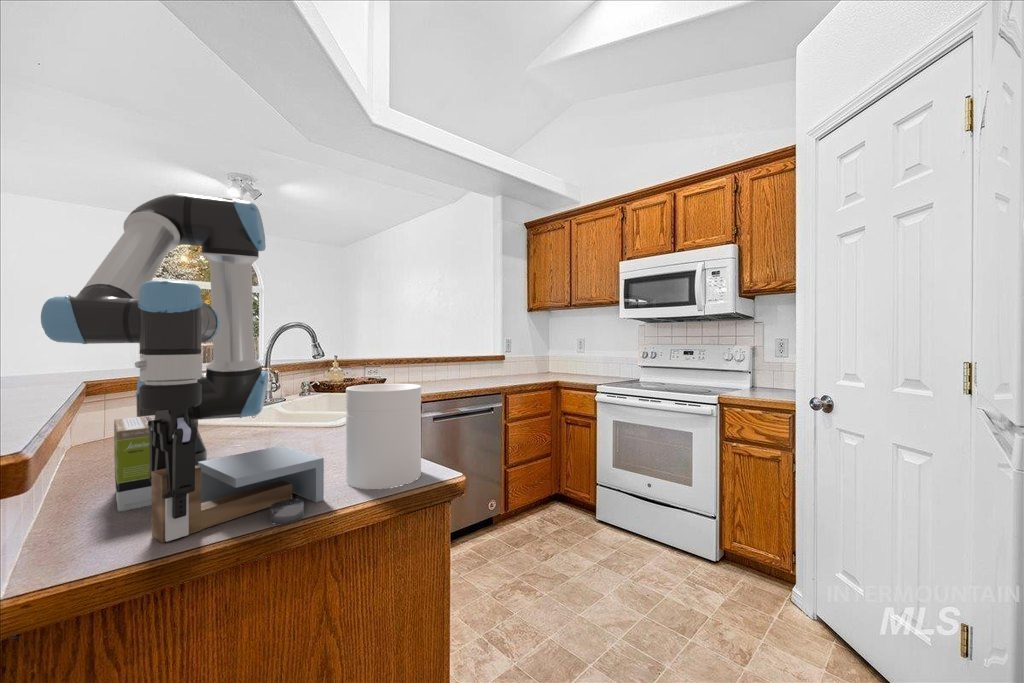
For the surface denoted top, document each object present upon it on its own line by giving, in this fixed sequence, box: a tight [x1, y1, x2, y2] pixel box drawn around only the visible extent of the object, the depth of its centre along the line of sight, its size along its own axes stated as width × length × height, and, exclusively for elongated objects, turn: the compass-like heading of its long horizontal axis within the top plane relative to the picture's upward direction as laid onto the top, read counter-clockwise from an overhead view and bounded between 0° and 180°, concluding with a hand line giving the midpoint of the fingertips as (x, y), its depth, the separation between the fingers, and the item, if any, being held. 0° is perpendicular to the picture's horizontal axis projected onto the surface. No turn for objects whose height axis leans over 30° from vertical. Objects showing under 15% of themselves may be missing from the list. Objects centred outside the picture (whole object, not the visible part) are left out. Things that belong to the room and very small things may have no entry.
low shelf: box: [197, 445, 325, 503], centre depth 79 cm, size 16×15×8 cm
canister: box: [345, 382, 422, 490], centre depth 94 cm, size 16×16×20 cm
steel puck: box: [269, 498, 305, 525], centre depth 72 cm, size 5×5×2 cm
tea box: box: [113, 415, 155, 513], centre depth 83 cm, size 15×10×15 cm, turn 45°
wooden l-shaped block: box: [151, 465, 293, 544], centre depth 73 cm, size 4×20×10 cm, turn 148°
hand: (171, 532), depth 66 cm, fingers closed on wooden l-shaped block, 4 cm apart
